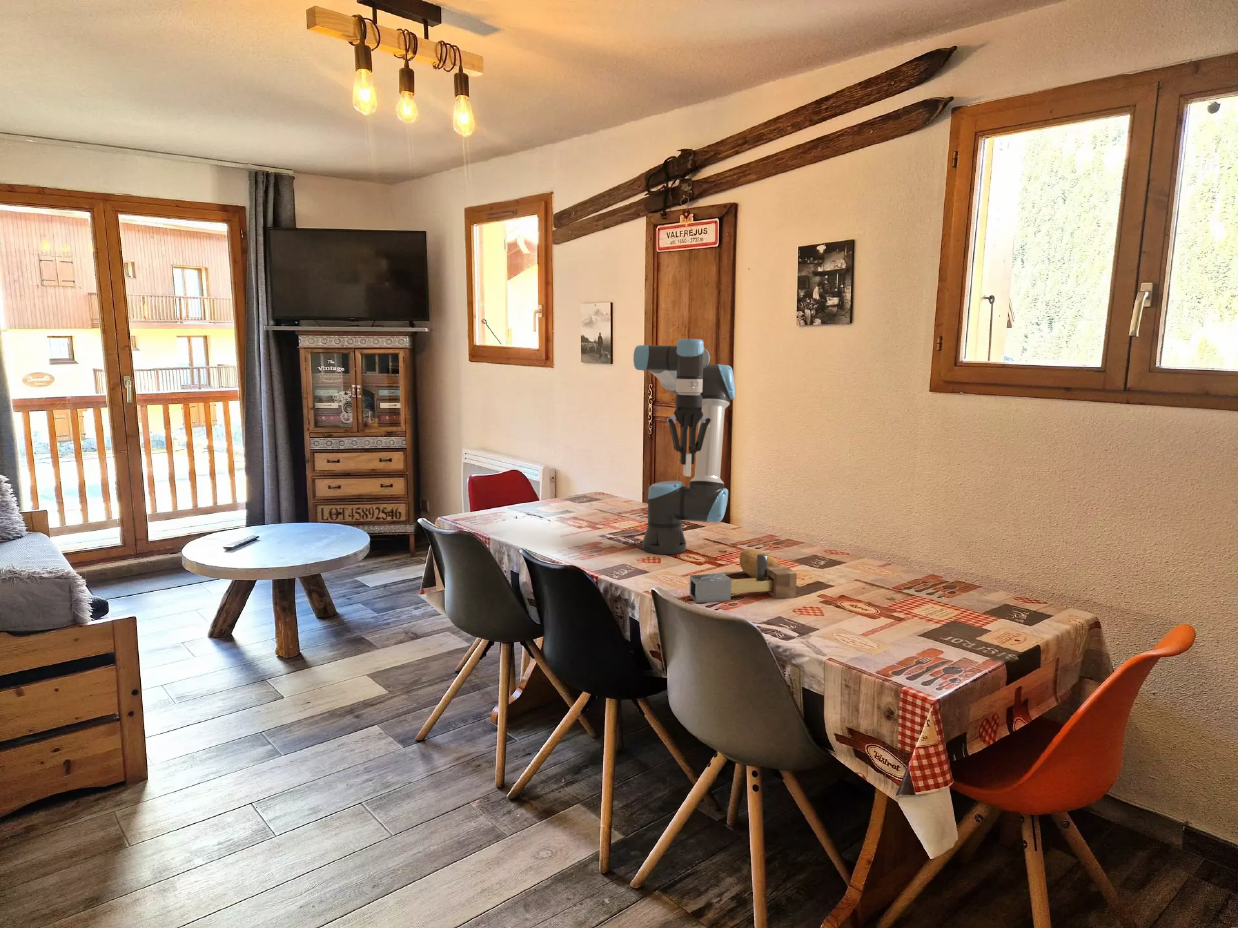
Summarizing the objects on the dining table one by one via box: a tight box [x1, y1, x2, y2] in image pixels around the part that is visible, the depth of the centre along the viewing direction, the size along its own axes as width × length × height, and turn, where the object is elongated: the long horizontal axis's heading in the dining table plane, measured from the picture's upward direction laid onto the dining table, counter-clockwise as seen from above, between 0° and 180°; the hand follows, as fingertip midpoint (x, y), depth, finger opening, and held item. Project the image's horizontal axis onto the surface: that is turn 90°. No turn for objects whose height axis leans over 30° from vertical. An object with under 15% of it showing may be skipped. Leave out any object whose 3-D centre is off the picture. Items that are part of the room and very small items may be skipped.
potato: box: [738, 548, 779, 578], centre depth 234 cm, size 10×14×8 cm
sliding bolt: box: [731, 553, 774, 594], centre depth 217 cm, size 3×19×10 cm, turn 103°
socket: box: [765, 564, 798, 600], centre depth 220 cm, size 8×6×7 cm
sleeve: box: [688, 572, 732, 604], centre depth 215 cm, size 6×10×6 cm, turn 103°
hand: (686, 475), depth 223 cm, fingers closed
